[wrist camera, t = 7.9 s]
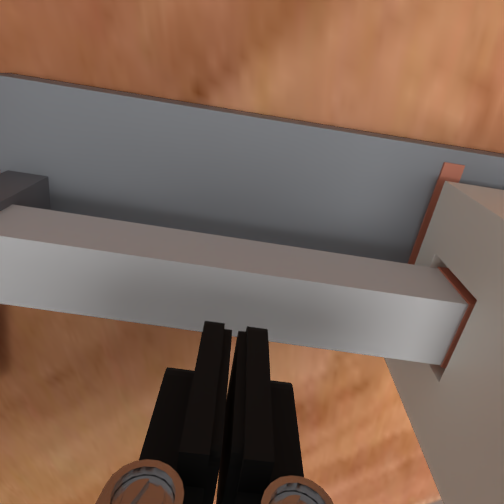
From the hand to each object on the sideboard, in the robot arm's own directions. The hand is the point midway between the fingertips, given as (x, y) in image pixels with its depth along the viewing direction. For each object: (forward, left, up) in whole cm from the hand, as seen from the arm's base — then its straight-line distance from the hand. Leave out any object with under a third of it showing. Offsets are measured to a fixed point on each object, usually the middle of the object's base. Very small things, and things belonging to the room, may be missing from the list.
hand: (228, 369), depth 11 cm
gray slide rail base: (+1, -2, -9) cm, 9 cm away
